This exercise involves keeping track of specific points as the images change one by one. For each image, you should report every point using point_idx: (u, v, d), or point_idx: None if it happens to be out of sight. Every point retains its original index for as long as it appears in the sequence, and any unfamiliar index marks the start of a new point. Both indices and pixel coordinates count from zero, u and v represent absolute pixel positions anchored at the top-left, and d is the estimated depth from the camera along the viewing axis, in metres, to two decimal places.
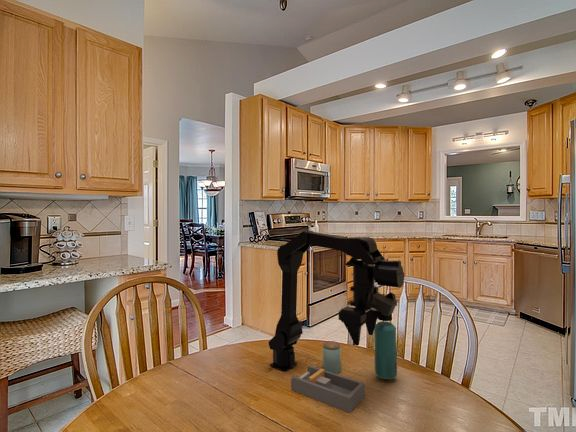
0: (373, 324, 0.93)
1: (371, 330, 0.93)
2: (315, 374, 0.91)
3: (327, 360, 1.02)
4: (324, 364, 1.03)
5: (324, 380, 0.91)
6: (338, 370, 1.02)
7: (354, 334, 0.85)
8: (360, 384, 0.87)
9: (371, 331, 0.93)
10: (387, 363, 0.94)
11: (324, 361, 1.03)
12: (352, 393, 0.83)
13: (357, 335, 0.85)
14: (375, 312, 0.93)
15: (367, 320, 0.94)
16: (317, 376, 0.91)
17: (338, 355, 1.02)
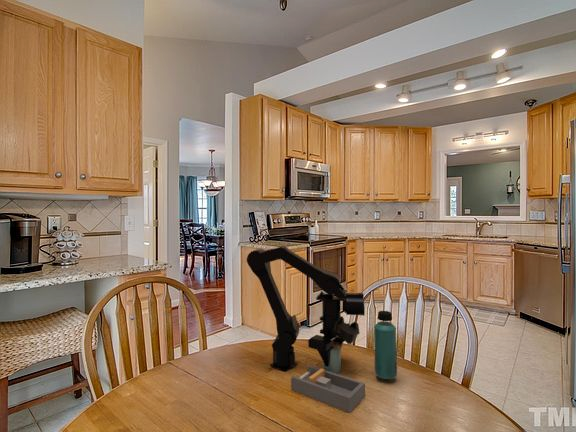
0: None
1: None
2: (315, 374, 0.91)
3: None
4: (324, 364, 1.03)
5: (324, 380, 0.91)
6: (338, 370, 1.02)
7: (324, 357, 1.01)
8: (360, 384, 0.87)
9: None
10: (387, 363, 0.94)
11: None
12: (352, 393, 0.83)
13: (327, 358, 1.00)
14: (340, 339, 1.06)
15: None
16: (317, 376, 0.91)
17: (338, 355, 1.02)
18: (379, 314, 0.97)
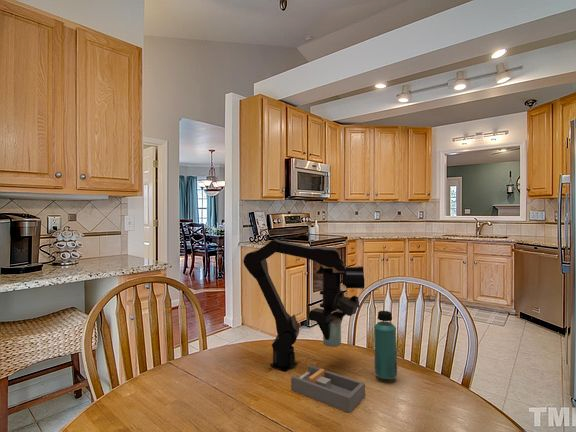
0: None
1: None
2: (315, 374, 0.91)
3: None
4: (324, 338, 1.03)
5: (324, 380, 0.91)
6: (338, 343, 1.02)
7: (325, 330, 1.01)
8: (360, 384, 0.87)
9: None
10: (387, 363, 0.94)
11: None
12: (352, 393, 0.83)
13: (327, 331, 1.00)
14: (340, 314, 1.06)
15: None
16: (317, 376, 0.91)
17: (338, 328, 1.02)
18: (379, 314, 0.97)
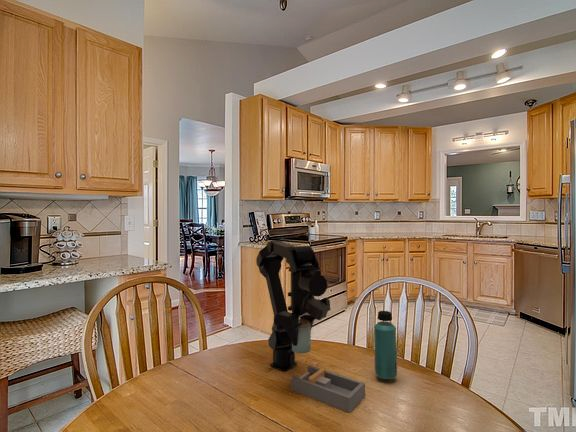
0: None
1: None
2: (315, 374, 0.91)
3: None
4: None
5: (324, 380, 0.91)
6: (307, 350, 0.93)
7: (292, 335, 0.92)
8: (360, 384, 0.87)
9: None
10: (387, 363, 0.94)
11: None
12: (352, 393, 0.83)
13: (294, 336, 0.92)
14: (310, 317, 0.98)
15: None
16: (317, 376, 0.91)
17: (307, 333, 0.93)
18: (379, 314, 0.97)
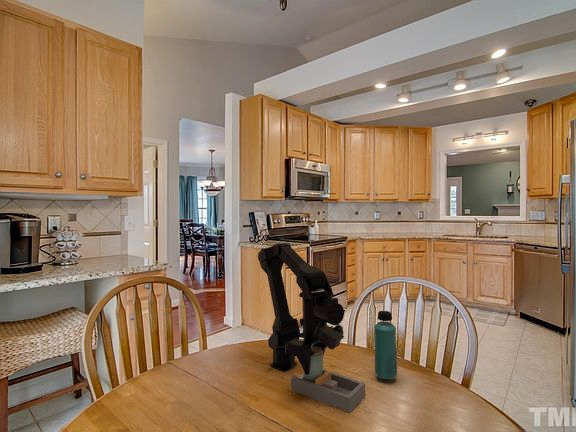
0: None
1: None
2: (322, 376, 0.90)
3: None
4: None
5: (331, 382, 0.89)
6: None
7: (304, 364, 0.90)
8: (360, 384, 0.87)
9: None
10: (387, 363, 0.94)
11: None
12: (352, 393, 0.83)
13: (307, 365, 0.89)
14: (323, 344, 0.95)
15: None
16: (324, 378, 0.90)
17: (320, 362, 0.91)
18: (379, 314, 0.97)
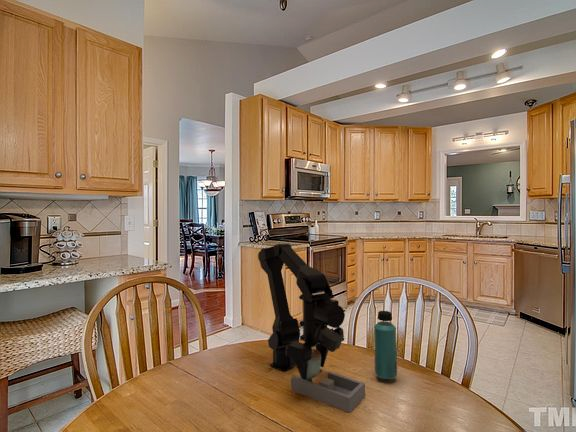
0: (324, 356, 0.96)
1: (322, 362, 0.96)
2: (318, 375, 0.91)
3: None
4: None
5: (327, 381, 0.90)
6: None
7: (301, 369, 0.88)
8: (360, 384, 0.87)
9: (322, 363, 0.96)
10: (387, 363, 0.94)
11: None
12: (352, 393, 0.83)
13: (304, 370, 0.88)
14: None
15: None
16: (320, 377, 0.90)
17: (317, 366, 0.91)
18: (379, 314, 0.97)
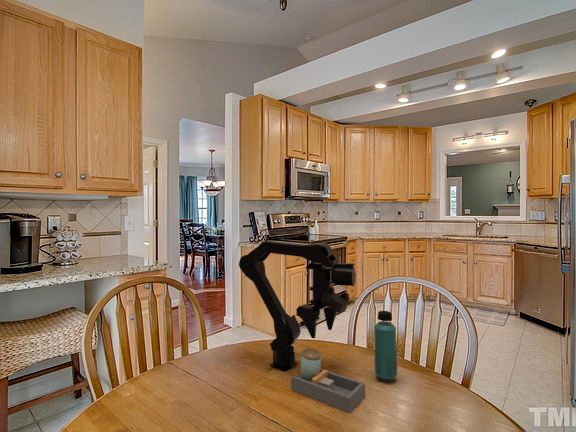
0: (332, 320, 1.05)
1: (330, 325, 1.05)
2: (318, 375, 0.91)
3: (304, 371, 0.91)
4: (301, 374, 0.92)
5: (327, 381, 0.90)
6: None
7: (310, 328, 0.98)
8: (360, 384, 0.87)
9: (330, 326, 1.05)
10: (387, 363, 0.94)
11: (301, 371, 0.92)
12: (352, 393, 0.83)
13: (313, 329, 0.97)
14: (333, 310, 1.05)
15: (327, 317, 1.06)
16: (320, 377, 0.90)
17: (317, 366, 0.91)
18: (379, 314, 0.97)
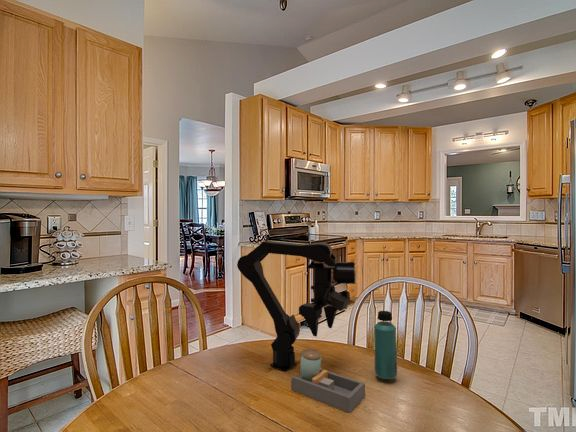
0: (332, 318, 1.07)
1: (330, 324, 1.07)
2: (318, 375, 0.91)
3: (304, 371, 0.91)
4: (301, 374, 0.92)
5: (327, 381, 0.90)
6: None
7: (312, 326, 0.99)
8: (360, 384, 0.87)
9: (330, 324, 1.07)
10: (387, 363, 0.94)
11: (301, 371, 0.92)
12: (352, 393, 0.83)
13: (315, 327, 0.99)
14: (334, 308, 1.07)
15: (327, 315, 1.08)
16: (320, 377, 0.90)
17: (317, 366, 0.91)
18: (379, 314, 0.97)
